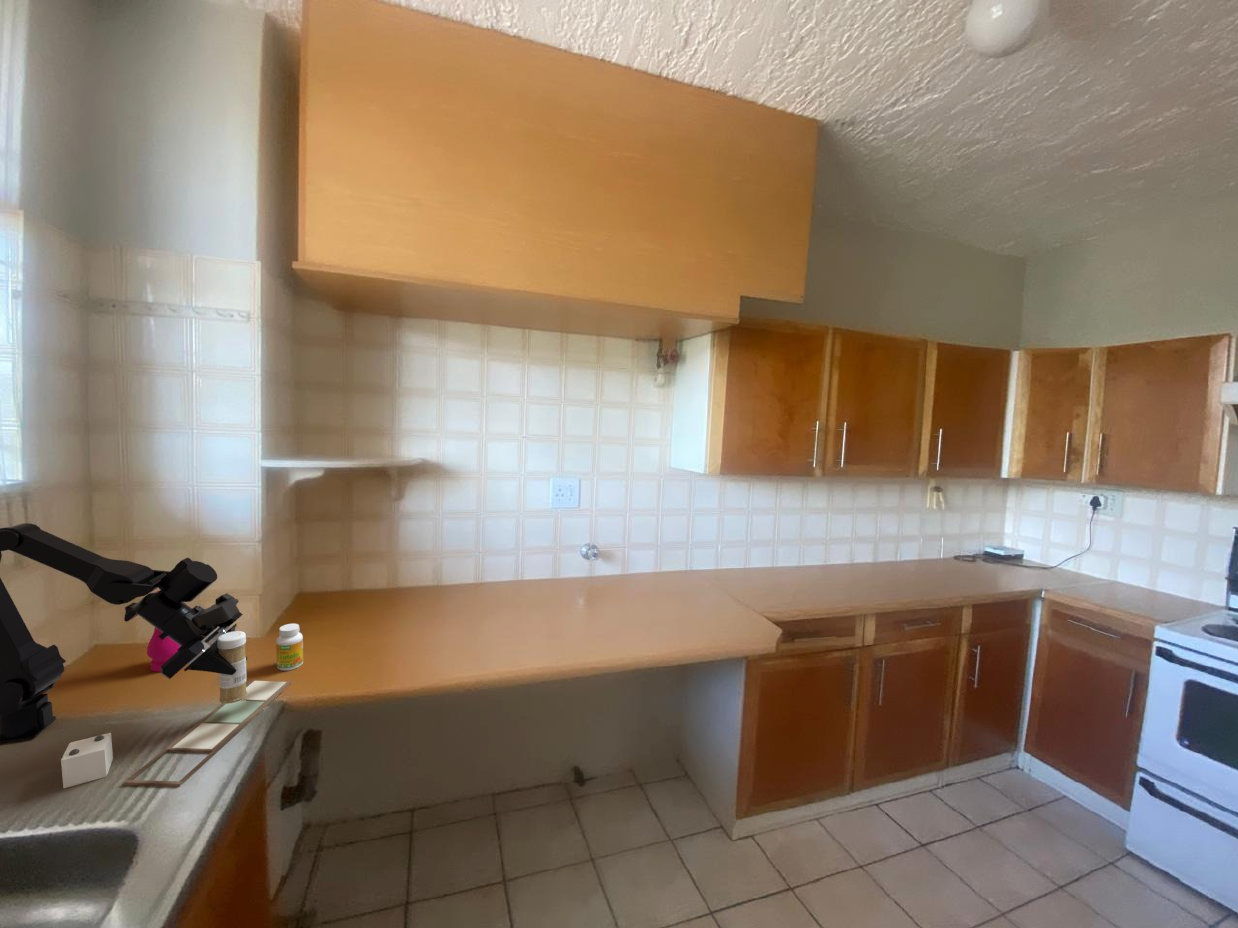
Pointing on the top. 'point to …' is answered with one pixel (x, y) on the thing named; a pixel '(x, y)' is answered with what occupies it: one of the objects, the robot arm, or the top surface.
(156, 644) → the pepper mill
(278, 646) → the supplement bottle
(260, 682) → the game board
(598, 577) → the top surface
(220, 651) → the tan spice jar
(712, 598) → the top surface
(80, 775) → the die
